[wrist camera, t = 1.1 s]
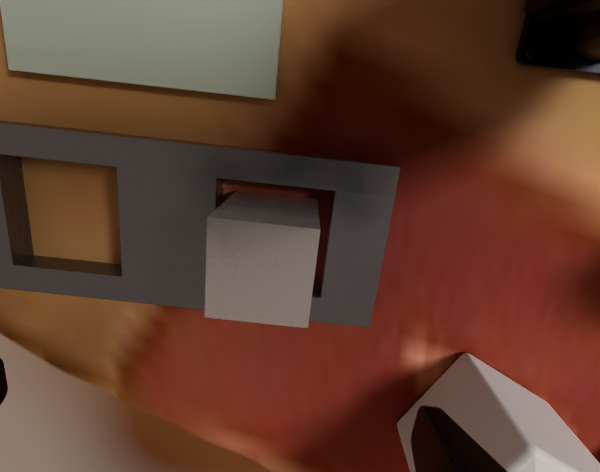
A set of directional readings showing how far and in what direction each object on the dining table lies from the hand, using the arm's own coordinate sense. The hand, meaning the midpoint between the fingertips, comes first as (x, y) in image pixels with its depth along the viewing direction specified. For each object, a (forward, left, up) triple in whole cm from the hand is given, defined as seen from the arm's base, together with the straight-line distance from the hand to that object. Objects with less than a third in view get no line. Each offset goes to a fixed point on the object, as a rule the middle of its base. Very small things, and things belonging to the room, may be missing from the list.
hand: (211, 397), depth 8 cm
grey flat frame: (+5, 0, -13) cm, 14 cm away
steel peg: (0, 0, -13) cm, 13 cm away
